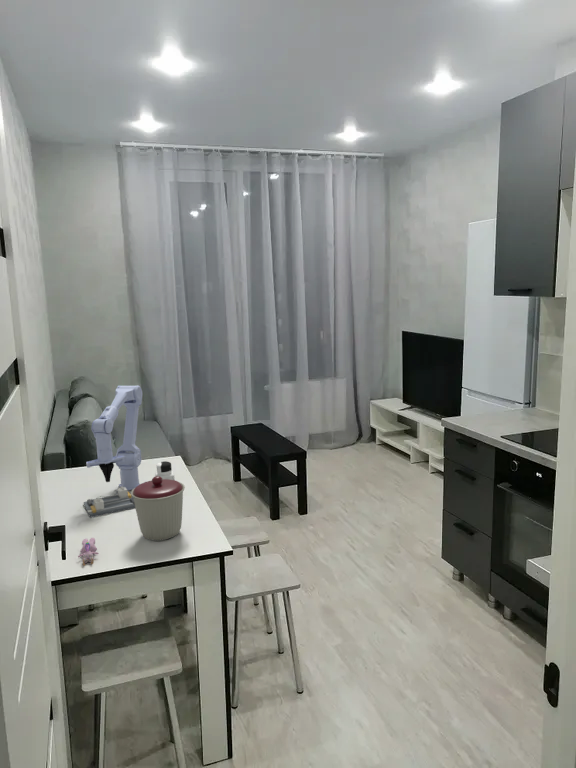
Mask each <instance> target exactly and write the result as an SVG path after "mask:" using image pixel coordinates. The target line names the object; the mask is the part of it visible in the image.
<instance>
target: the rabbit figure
mask: <svg viewBox="0 0 576 768" xmlns="http://www.w3.org/2000/svg"><path fill="white" fill-rule="evenodd" d="M95 544H96V539H95V537H90V539H88V538H83V539H82V542H81V545H82V547H81V549H80V551H79V553H80V554H79V555H78V556H77V557H78V558H81V557H82V558H81V560H82V561H81V562H82V566H86V564H87V563H90V565H94V560H95V557H94V555H99V552H97V550H98V547H97V546H96V545H95Z"/></svg>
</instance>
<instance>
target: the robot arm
mask: <svg viewBox="0 0 576 768" xmlns="http://www.w3.org/2000/svg"><path fill="white" fill-rule="evenodd" d="M143 393H144V392H143V390H142V387H141V386H140V385H138V384H137V385H117V387H116V388H115V392H114V395H115V396H114V398H113V400H112V402H111V404H110V405H107V406H106V407H105V408H104V410H103V412H101V414H100V416H99V417H98V418H96V419H94V420H93V421H92V423H91V428H90V429H91V432H92V434H93V437H94V439H95V444H96V454H97V459H93V460H89V461H86V464H85V465H86V468H88V469H90V468H92V467H97V466H98V468H100V470H101V471H102V474H103V476H104V479H105V482H106V483H110V482H111V475H112V472H113V469H114V467H115V466H116V467H118V469H120V470H119V477H120V483H118V486H119V488H121V486H122V487H126V489H127V492H129V491H132V490H133V489H134V488H135V487H137V486H138V485H140V484H141V483H140V479H139V466H140V465H141V462H142V450H141V448H139V447H138V446H137V445H136V441H137V431H138V422H139V421H138V420H139V411H140V410H139V409H140V406H141V405H142V404H143V403H142V402H143ZM122 406H124V407H125V408H126V410H125V411H126V412H125V422H124V423H125V424H124V433H123V439H122V440H123V442H122V444H121V445H120V446H119V447H118V448H117V450H116V454H115V456H114V455H113V446H112V437H111V436H112V435H111V433H112V432H113V428H114V426H115V425H114V422H115V421H116V419H117V417H118V416H119V411H120V408H122Z"/></svg>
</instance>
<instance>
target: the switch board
mask: <svg viewBox="0 0 576 768" xmlns="http://www.w3.org/2000/svg"><path fill="white" fill-rule="evenodd" d="M127 492H128V497H124V498H120V497H119V496H118V493H117V494H112V495H107V496H102V497H98V498H99V499H100V498H102V500H103V501H104V509H101V510H96V509H95V507H94V500H95V499H96V498H92V499H90V498H88V499H86V501H84V502H83V506H84V508H85V511H86V513H87V515H88V516H89V518H96V517H99V516H104V515H109V514H113V513H117V512H122V511H123V512H124V511H127V510H131V509H132V510H133V509H136V508H135V503H134V498H133V497H132V496H131V492H130V491H127Z"/></svg>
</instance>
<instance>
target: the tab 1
mask: <svg viewBox="0 0 576 768" xmlns="http://www.w3.org/2000/svg"><path fill="white" fill-rule="evenodd" d="M99 498H100V499H99ZM94 499H95V500H94V507H95V509H96V510H101V509H104V501H103V500H102V497H96V498H94Z"/></svg>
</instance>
